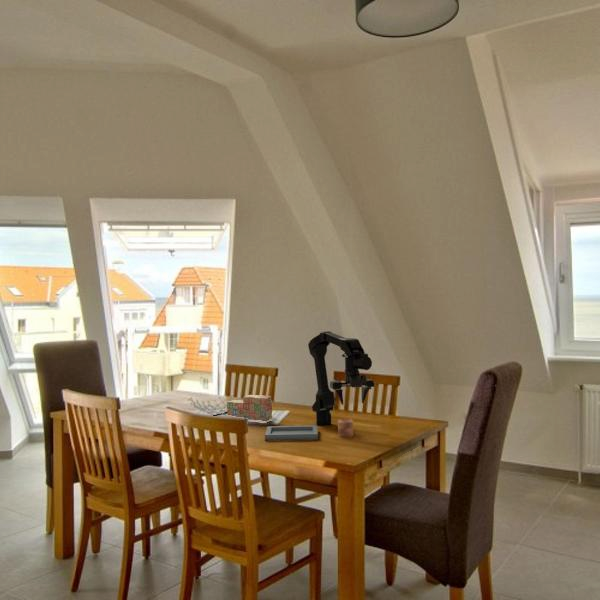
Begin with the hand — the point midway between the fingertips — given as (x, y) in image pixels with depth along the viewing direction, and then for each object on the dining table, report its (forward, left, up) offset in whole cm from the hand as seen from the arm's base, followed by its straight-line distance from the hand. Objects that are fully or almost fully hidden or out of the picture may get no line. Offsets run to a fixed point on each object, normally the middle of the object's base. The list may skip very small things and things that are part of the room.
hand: (352, 403), depth 258 cm
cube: (-4, -4, -13) cm, 14 cm away
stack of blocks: (-48, +28, -13) cm, 57 cm away
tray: (-27, -4, -13) cm, 30 cm away
